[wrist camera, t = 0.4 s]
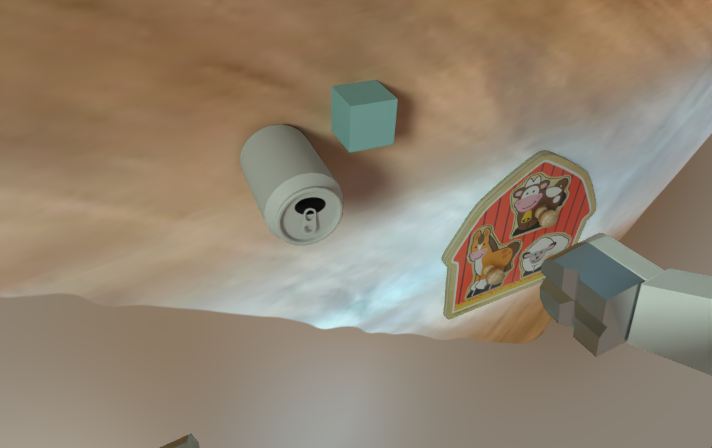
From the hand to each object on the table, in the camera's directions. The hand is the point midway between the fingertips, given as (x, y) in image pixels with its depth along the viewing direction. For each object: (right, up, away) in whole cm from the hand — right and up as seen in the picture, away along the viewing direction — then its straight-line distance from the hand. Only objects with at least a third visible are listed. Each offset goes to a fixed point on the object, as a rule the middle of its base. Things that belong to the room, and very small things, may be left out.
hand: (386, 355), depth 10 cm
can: (-9, +10, +41) cm, 43 cm away
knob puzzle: (+25, +2, +68) cm, 72 cm away
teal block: (-1, +15, +41) cm, 44 cm away
